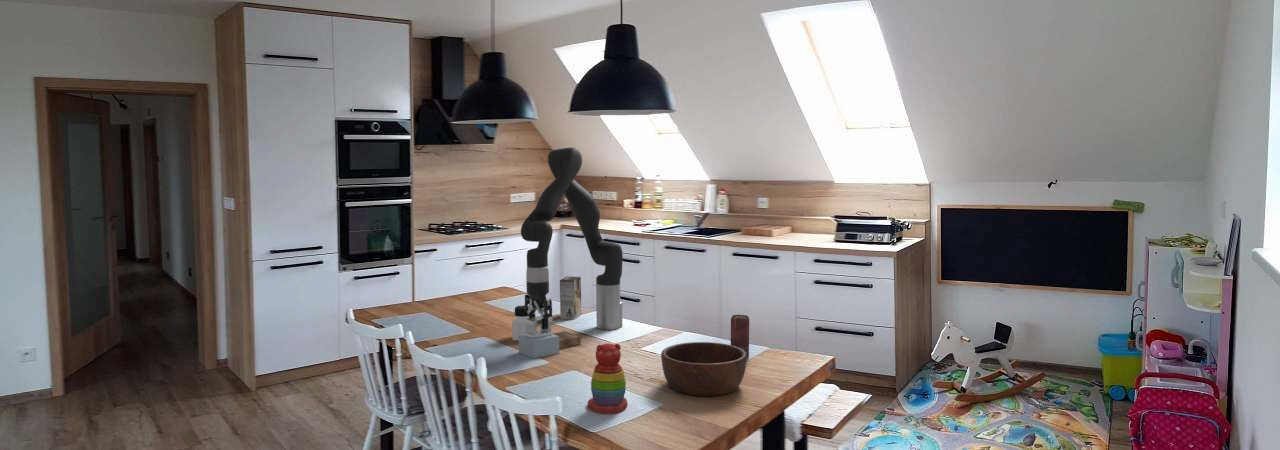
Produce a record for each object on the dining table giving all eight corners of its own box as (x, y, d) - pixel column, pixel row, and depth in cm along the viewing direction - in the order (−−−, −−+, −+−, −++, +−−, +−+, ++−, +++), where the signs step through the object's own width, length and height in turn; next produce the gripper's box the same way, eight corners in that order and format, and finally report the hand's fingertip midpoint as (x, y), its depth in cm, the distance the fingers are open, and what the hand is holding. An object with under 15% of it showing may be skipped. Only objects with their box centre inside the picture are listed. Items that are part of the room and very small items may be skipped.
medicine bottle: (531, 340, 283) (531, 308, 282) (512, 340, 284) (511, 308, 282) (534, 335, 291) (534, 304, 289) (515, 335, 291) (515, 304, 289)
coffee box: (567, 314, 327) (566, 276, 326) (581, 314, 326) (581, 276, 324) (559, 318, 318) (559, 279, 317) (574, 319, 317) (574, 280, 315)
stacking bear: (625, 400, 217) (625, 338, 215) (631, 413, 207) (630, 347, 205) (586, 403, 215) (586, 339, 214) (590, 415, 206) (589, 349, 204)
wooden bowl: (693, 369, 247) (693, 337, 246) (762, 384, 232) (763, 350, 231) (643, 388, 228) (643, 354, 227) (715, 406, 213) (715, 369, 211)
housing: (545, 332, 271) (544, 315, 270) (552, 335, 267) (552, 317, 266) (524, 336, 266) (524, 318, 265) (532, 338, 262) (532, 321, 261)
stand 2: (565, 339, 285) (565, 331, 285) (580, 344, 277) (580, 336, 277) (541, 343, 279) (541, 335, 279) (556, 349, 271) (556, 341, 271)
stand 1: (543, 347, 274) (543, 330, 273) (559, 353, 266) (559, 336, 265) (518, 352, 268) (518, 335, 267) (533, 358, 260) (533, 340, 259)
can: (727, 358, 259) (727, 317, 257) (734, 354, 264) (734, 313, 263) (744, 361, 256) (745, 319, 254) (751, 356, 262) (751, 315, 260)
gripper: (558, 281, 261) (559, 329, 263) (536, 275, 272) (537, 321, 274) (538, 283, 256) (539, 332, 258) (517, 278, 268) (518, 324, 269)
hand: (538, 326), depth 266 cm, fingers open, 8 cm apart
